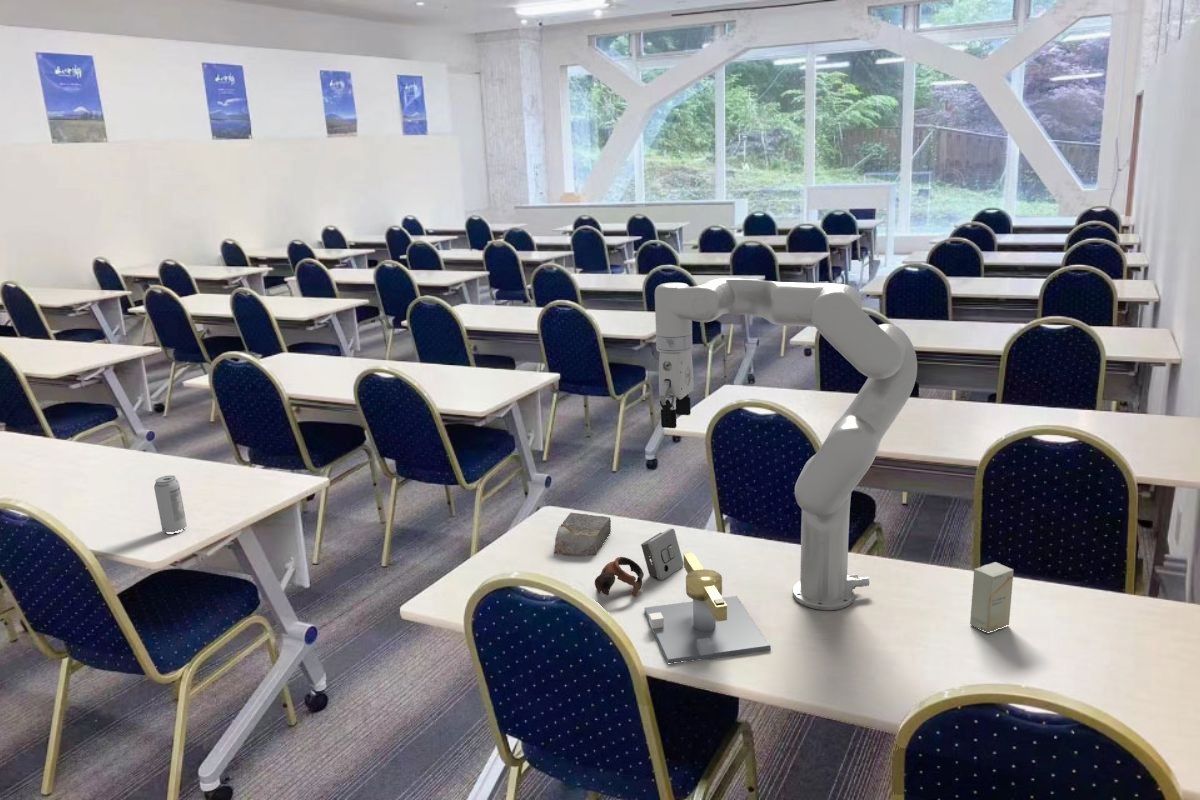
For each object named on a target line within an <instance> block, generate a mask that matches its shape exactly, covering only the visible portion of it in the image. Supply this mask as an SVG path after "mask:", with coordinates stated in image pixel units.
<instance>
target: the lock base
mask: <svg viewBox="0 0 1200 800" xmlns="http://www.w3.org/2000/svg"><path fill="white" fill-rule="evenodd" d="M722 599H723V600H724V602H725V603H726V605H727V620H725V621H718V622H717V621H716V620H715V618H714V616H713V615H712V613H711V611H710V610H709V608H708V606H707V605H706V603H705V601H698V600H694V599H692V601H686V602H680V603H679V602H678V603H670V604H662V605H655V606H654V605H653V606H648V607H647V606H646V607H644V614H645V616H646V618H647V620H648V623H649V625H650V627H651V629H652V632H653V631H654V632H653V634H654V636H655V638H656V641H657V640H658V641H657V642H659V643H658V645H659V647H660V650H661V651H663V652H662V654H663V653H664V654H663V656H664V655H665V656H664V658H665V661H666V660H667V661H666V663H667V662H668V663H673V664H675V663H674V662H680V663H682V662H681V661H687V662H693V661H692V660H694V661H700V660H699V659H702V660H707V659H715V658H716V659H717V658H722V657H729V656H731V657H732V656H736V655H737V656H739V655H744V654H752V653H759V652H766V650H767V651H771V649H772V647H771V644H770V642H769V641H768V639H767V637H766V636H764V633H763V632H762V631H761V629H760V628H759V626H758V625H757V623H756V622H755V620H754V619H753V617H752V616H751V614H750V613H749V612H748V610H747V608H746V607H745V606H744V604H743V603H742V601H741V600H740V598H739V597H738V595H733V596H725V597H722ZM714 657H715V658H714ZM668 663H667V664H668Z"/></svg>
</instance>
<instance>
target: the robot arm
mask: <svg viewBox="0 0 1200 800" xmlns="http://www.w3.org/2000/svg"><path fill="white" fill-rule="evenodd" d="M654 310H655V311H654V313H655V315H654V316H655V317H654V318H655V341H656V342H655V343H656V344H655V347H656V349H655V350H656V351H657V352H659V358H658V390H659V393H658V394H659V395H658V396H659V405H660V406H659V408H660V423H661V425H660V427H661V428H663V429H664V428H665V429H676V428H677V415H678V416H690V415H691V411H692V410H691V392H692V391H693V390H694V388H695V379H694V364H693V357H692V356H693V355H692V350H693V322H698V323H699V322H700V323H709V322H713V321H715V320H717V319H718V318H720V317H721V316H723V315H744V316H745V315H746V316H747V315H748V316H755V317H759V318H762V319H765V320H766V321H767V322H769V323H770V324H773V325H776V326H782V327H788V326H789V327H807V328H808V327H811V328H815V329H816V330H817V331H818V333H820V335H821V336H822V337H823V338H824V339H825V340H826V341H827V342H828V343H829V344H830V345H831V346H832V347H833V348H834V349H835V350H836V351H838V352H839V354H840V355H841V356H843V358H844V359H845V360H846V361H848V362H849V363H850V364H851V365H852V366H853V367H854V368H855V369H856V370H857V371H858V372H859V373H860V374H862V375H864V376H865V377H867V378H866V380H865V383H863V385H862V386H861V388H860V389H859V391H858V393H857V395H856V396H855V397H854V399H853V400H852V402H851V404H850V405H849V406H848V407H847V409H846V410H845V412H844V413H843V414H842V415H841V416H840V418H839V419H838V420H836V422H835V423H834V424H833V426H832V428H831V429H830V432H828V435H827V437H826V438H825V440H824V442H823V443H822V445H821V446H820V448H819V449H818V450H817V452H816V453H815V454H814V455H812V456H811V457H810V458H809V459H808V460H807V461H806V462H805V464H804V466H803V468H802V470H801V472H800V474H799V476H798V478H797V480H796V483H795V485H794V497H795V500H796V503H797V505H798V506H799V507H800V509H801V526H800V529H801V530H800V572H799V573H800V575H799V576H800V581H797V583H795V584H794V586H793V587H792V596H793V599H795V600H796V601H797V602H798V603H800V604H801V605H802V606H805V607H807V608H810V609H815V610H820V611H821V610H822V611H836V610H837V611H838V610H841V609H845V608H847V607H848V606H850V605H851V604H853V602H854V600H855V592H854V590H855V589H856V588H859V587H860V588H861V587H868V586H870V579H869V577H868V576H863V577H862V576H861V577H860V576H858V574H857V573H850V574H848V565H849V564H848V561H849V534H850V533H849V530H850V513H851V512H850V511H851V510H850V508H851V497H852V493H853V491H854V489H855V488H856V487H857V485H859V483H860V482H861V480H862V479H863V477H864V476H865V475H866V473H867V472H868V471H869V469H870V467H871V466H872V464H873V462H874V461H875V458H876V456H877V453H878V450H879V448H880V445H881V444H880V443H881V441H882V440H883V438H884V436H885V434H886V433H887V431H888V430H889V428H890V427H891V426H892V425H893V423H894V422H895V420H896V418H897V417H898V416H899V414H900V412H901V411H902V409H903V408H904V407H905V405H906V403H907V401H908V400H909V398H910V396H911V394H912V392H913V389H914V387H915V384H916V380H917V374H918V360H917V359H918V358H917V353H916V350H915V348H914V346H913V343H912V341H911V339H910V337H909V336H908V335H907V333H906V332H905V331H904V330H903V329H901V328H900V327H899V326H897V325H896V324H895V325H894V324H891V323H882V324H877V323H876V322H875V321H874V320H873V319H872V318H871V317H870V316H869V315H868V314H867V313H866V312H865V311H864V310H863V301H862V296H861V295H860V293H859V291H858V290H857V289H856V288H854V287H853V286H851V285H848V284H845V283H843V284H842V283H821V282H814V283H813V282H791V281H789V282H787V281H773V280H761V279H760V280H759V279H751V278H750V279H748V278H714V279H710V280H708V281H706V282H704V283H702V284H698V285H695V286H690V285H689V284H687V283H684V282H665V283H660V284H659V285H657V286H656V287H655V289H654Z"/></svg>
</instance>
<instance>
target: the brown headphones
mask: <svg viewBox="0 0 1200 800" xmlns="http://www.w3.org/2000/svg"><path fill="white" fill-rule="evenodd" d="M621 566H629V569H630V572H632V573H633V572H634V573H635V574H636V576H637V578H636V576H634V575H631V574H629V573H628V572H626V571H625V570H623V569H622V568H621ZM600 572H601V573H600V574H599V575H598V576H596V578H595V579H594V586H595V588H596V590H597V593H598V594H601V593H602V595H605V596H608V595H609V594H610V590H611V588H612V587H613V585H614V584H615V582H616V579H617V580H619V581H621V582H622V583H625V584H627V585H629V586H630V587H631V586H632V591H631V594H630V595H631V596H632V597H636V596H637V595H638V594H639V591H640V590H641V589H642V586H643V578H644V574H645V573H644V571H643V568H642V567H641V566H640V565H639V564H638V563H636V561H634V560H633V559H631V558H629V557H625V556H619V557H616V558H615V559H614V560H613V561H610V562H608V563H607V564H606V565H605V566H604V567H603V568H602V570H601V571H600ZM616 576H617V578H616Z"/></svg>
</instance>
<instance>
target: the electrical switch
mask: <svg viewBox="0 0 1200 800" xmlns="http://www.w3.org/2000/svg"><path fill="white" fill-rule="evenodd" d="M640 546H641V550H642V553H643V556H644V560H645V563H646V564H645V565H646V568H647V570H648V575H649V577H655V578H656V579H657V580H658V581H663V580H665V579H667V578H668V577H669V576H671V575H672V574H674V573H675V572H677V571H678V570H680V569H681V568H684V558H683V556H682V552H681V549H680V545H679V541H678V538H677V534H676V530H675V529H674V528H670V527H669V528H667V529H666V530H664V531H663V532H659V533H656V535H654V536H652V537H651V538H649V539H648V540H645V541H644V542H642V543H641V544H640Z"/></svg>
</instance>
